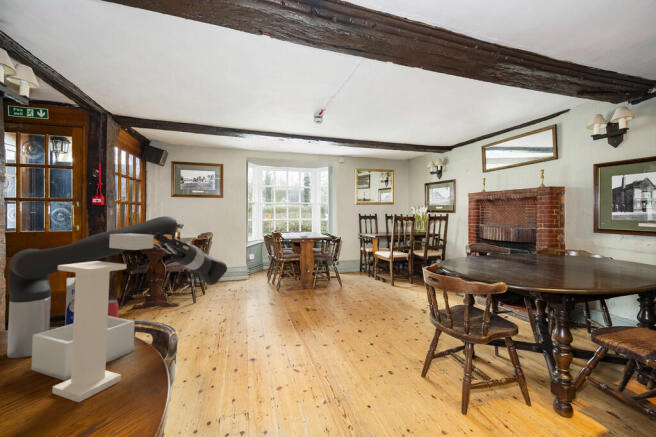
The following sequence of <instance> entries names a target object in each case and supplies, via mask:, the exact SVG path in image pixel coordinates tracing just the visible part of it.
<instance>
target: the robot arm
mask: <svg viewBox="0 0 656 437" xmlns="http://www.w3.org/2000/svg"><path fill="white" fill-rule="evenodd" d="M177 228H178V222H177V220H176V218H175V217H172V216H170V215H169V216H167V215H166V216H165V215H164V216H159V217H154V218H151V219H148V220H147V221H146V220H145V221H142V222H139V223H136V224H134V225H130V226H125V227H120V228H118V229H112V230H108V231H104V232H99V233H97V234H93V235H90V236H87V237H84V238H82V239H80V240H78V241H76V242H73V243H71V244H66V245H62V246H57V247H51V248H45V249H38V248H26V249H23V250H20V251H18V252H17V253H15V254H13V255H12V257H11V259H10V261H9V264H8V292H9V294H8V295H9V304H8V326H7V327H8V329H7V331H8V332H7V352H6V357H7V358H9V359H20V358H26V357H32V343H33V335H34V334H38V333H41V332H45V331H48V330H50V324H51V323H50V322H51V320H50V319H51V300H52V299H51V298H52V289H51V286H50V285H51V284H50V275H52V274H54V273H56V272H59V271H60V270H58V265H65V264H74V263H83V262H93V261H97V260H99V259H104V258H106V257H111V256H115V255H117V254H121V253H122V252H123V253H124V252H125V251H127V250H128V249H118V248H109V242H110V234H127V233H131V234H147V235H155V237H154V238H155V239H156V240H158V241H160V242H161V243H162V244H153V247H154V248H156V249H157V250H158V251H161V250H163V251H164V252H166V253H167V254H170V258H171V260H172V261H173V262H175V263H176V264H178V265H180V266H182V267H184V268H186V269H188V270H191V271H193V272H194V273H196V274H197V275H199V277H200V278H201V280H202V281H203V282H204V283H205V284H207V285H208V286H214V285H216V284H217V283H218V282H219V281H220V279H221V278H222V277H223V276H224V275H225V274H226V273H227V272H228V266H227V264H226V263H225V262H223V261H222V260H219V259H216V258H214V257H212V256H209V255H208V254H207V253H205V252H204V251H203V250H202V249H200V248H199V247H198V246H196V245H193V244H189V243H188V242H182V241H181V240H179V239H178V237H177V236H176V233H177ZM164 235H172V239H171V238H169V237H166V236H164Z"/></svg>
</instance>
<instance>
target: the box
mask: <svg viewBox="0 0 656 437" xmlns="http://www.w3.org/2000/svg"><path fill="white" fill-rule="evenodd" d="M135 323H136V322H135V320H132V319H126V318H121V317H118V318H117V317H112V316H108V321H107V345H106V364H107V363H109V362H111V361H114V360H116V359H119V358H121V357H122V356H125V355H128V354H130V353H132V352H134V347H135V346H134V345H135V344H134V343H135V342H134V341H135ZM73 324H74V323H73ZM73 324H70V325H66V326H65V325H64V326H60V327H56V328H52V329H49V330H48V331H45V332H41V333H38V334H34V335H33V343H32V355H31V367H30V369H31V371H34V372H37V373H40V374H43V375H46V376H49V377H52V378H55V379H58V380H61V381H63V382H65V381H67V380H69V379H71V370H72V347H73Z"/></svg>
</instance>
